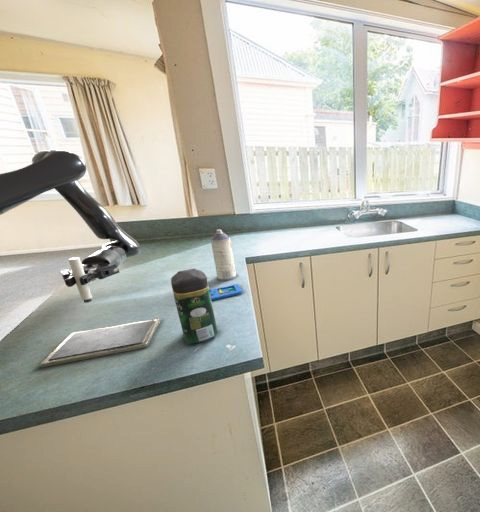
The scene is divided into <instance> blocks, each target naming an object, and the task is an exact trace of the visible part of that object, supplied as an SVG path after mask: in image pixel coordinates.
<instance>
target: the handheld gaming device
mask: <svg viewBox="0 0 480 512" xmlns="http://www.w3.org/2000/svg"><path fill="white" fill-rule="evenodd" d="M209 292H210V297H211V301H216V300H220V299H224V298H228V297H232V296H236V295H241V294H243V289H242V288H241V286H239V284H238V283H235V284H230V285H226V286H220V287H216V288H211V289H209Z"/></svg>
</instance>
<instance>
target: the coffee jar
mask: <svg viewBox="0 0 480 512" xmlns="http://www.w3.org/2000/svg"><path fill="white" fill-rule="evenodd" d="M170 279H171V280H170V282H171V283H170V285H171V289H172V294H173V298H174V303H175V307H176V311H177V315H178V319H179V323H180V326H181V331H182V334H183V338H184V340H185V341H186V343H187V344H200V343H205V342H207V341H210V340H211V339H213V338H214V337H216V336H217V335H218V327H217V326H218V325H217V321H216V318H215V312H214V307H213V302H212V300H211V297H210V292H209V290H210V287H209V282H208V277H207V275H206V274H205V272H203V270H199V269H196V268H190V269H184V270H179V271H177V272H176V273H175V274H174V275H172V277H171V278H170Z"/></svg>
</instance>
